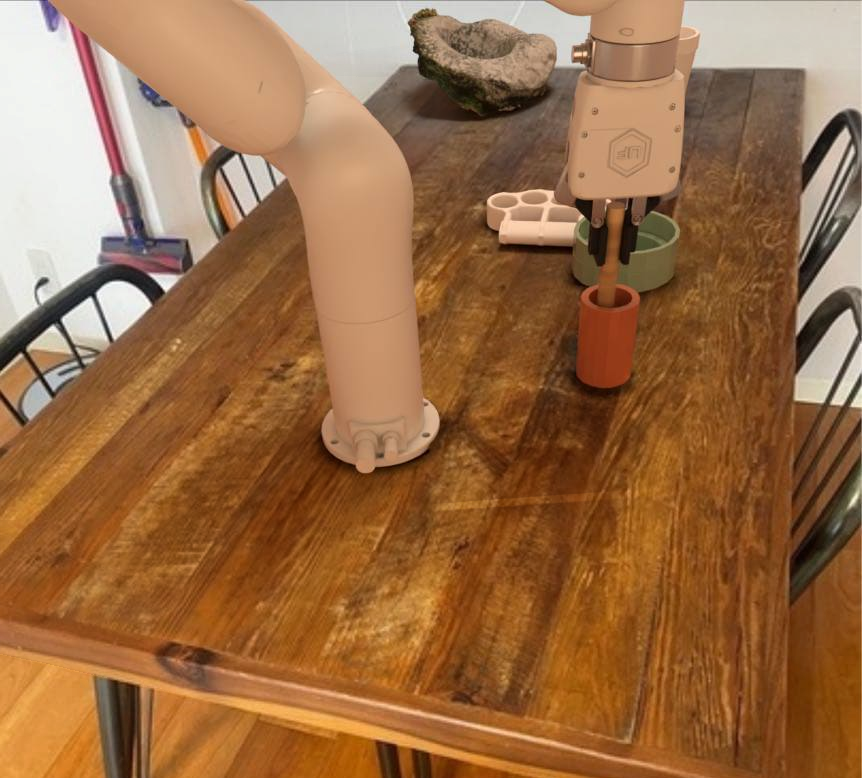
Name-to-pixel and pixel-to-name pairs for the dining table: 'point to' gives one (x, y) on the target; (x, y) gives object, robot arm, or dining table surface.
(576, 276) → the bowl
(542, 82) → the stone basin
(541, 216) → the white brass knuckles
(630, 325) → the crock
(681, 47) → the foam cup
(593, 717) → the dining table surface
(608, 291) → the paddle
